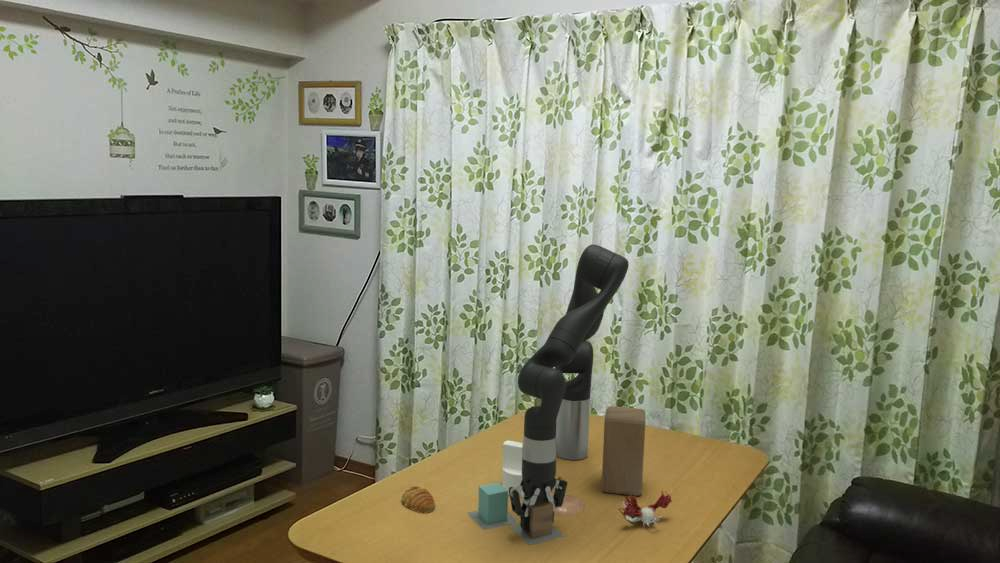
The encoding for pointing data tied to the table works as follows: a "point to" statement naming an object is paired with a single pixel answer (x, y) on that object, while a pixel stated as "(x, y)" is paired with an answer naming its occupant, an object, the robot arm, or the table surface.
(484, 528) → the code tile
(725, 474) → the table surface
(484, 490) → the teal block
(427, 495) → the pastry
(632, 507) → the figurine
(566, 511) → the pink round disc
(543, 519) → the walnut block
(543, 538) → the code tile
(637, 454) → the block
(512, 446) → the cylinder with rectangular tab
